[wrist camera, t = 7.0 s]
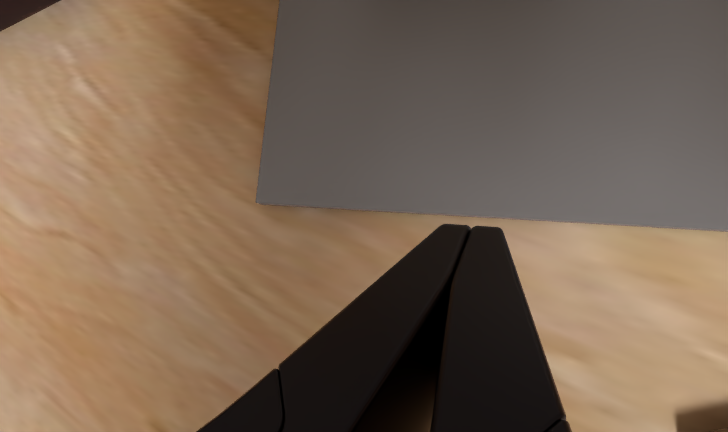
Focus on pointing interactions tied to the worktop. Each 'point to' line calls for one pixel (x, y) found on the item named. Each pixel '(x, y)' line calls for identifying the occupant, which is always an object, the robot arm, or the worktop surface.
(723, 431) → the picture frame
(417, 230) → the worktop surface
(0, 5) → the diary
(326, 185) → the mat
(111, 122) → the worktop surface
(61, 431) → the worktop surface
